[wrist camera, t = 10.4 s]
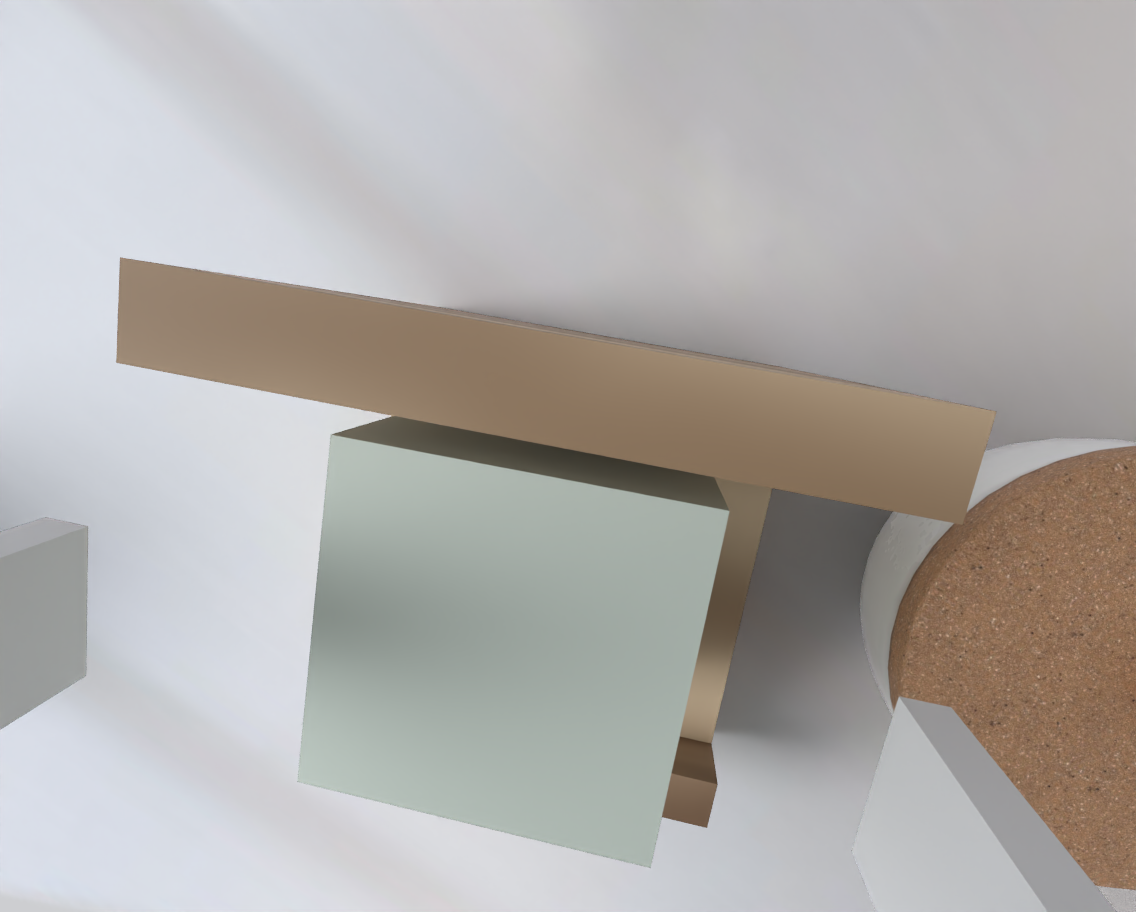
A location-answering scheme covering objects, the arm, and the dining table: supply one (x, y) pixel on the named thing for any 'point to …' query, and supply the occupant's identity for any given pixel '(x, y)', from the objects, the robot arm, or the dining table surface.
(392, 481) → the cabinet block
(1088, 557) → the lidded jar
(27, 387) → the dining table surface
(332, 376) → the wooden stand
